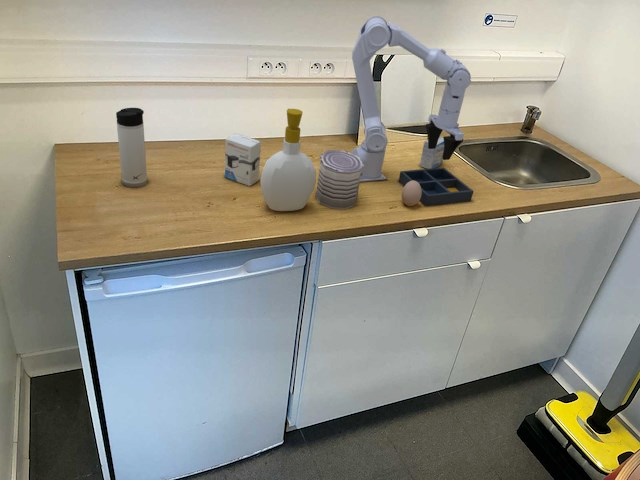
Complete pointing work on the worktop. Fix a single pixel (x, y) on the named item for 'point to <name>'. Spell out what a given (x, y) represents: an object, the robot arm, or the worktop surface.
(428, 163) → the medicine box
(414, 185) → the egg
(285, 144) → the soap bottle
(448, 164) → the worktop surface
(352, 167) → the can
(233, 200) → the worktop surface
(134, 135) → the travel mug
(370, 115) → the robot arm
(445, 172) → the divided tray
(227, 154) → the ink box
